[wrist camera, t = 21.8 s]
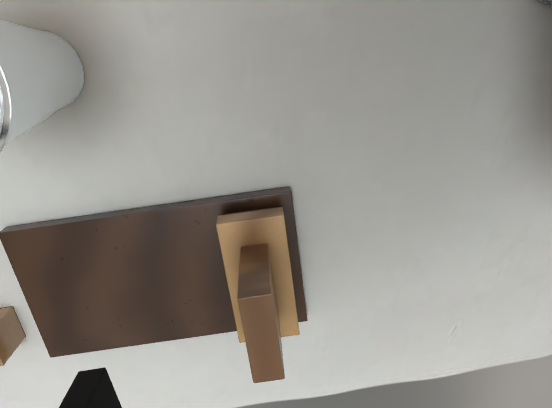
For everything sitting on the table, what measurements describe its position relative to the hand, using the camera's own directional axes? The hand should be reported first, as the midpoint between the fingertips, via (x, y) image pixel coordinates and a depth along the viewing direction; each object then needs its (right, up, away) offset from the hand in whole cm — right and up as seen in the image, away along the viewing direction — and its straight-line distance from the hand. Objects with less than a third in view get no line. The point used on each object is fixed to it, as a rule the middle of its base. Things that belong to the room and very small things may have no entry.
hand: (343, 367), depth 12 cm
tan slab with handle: (-3, -1, +30) cm, 30 cm away
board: (-13, -3, +32) cm, 34 cm away
